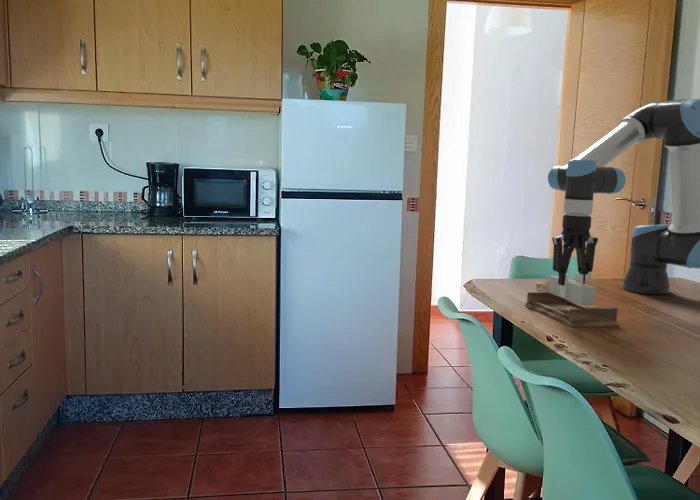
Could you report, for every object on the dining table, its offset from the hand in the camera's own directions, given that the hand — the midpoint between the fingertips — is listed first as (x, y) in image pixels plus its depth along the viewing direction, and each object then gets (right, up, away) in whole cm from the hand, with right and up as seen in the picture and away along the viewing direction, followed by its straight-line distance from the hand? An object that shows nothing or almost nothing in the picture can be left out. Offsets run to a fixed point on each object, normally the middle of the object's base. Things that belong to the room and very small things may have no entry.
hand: (570, 296), depth 176 cm
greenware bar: (0, -1, 0) cm, 1 cm away
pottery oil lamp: (+3, -3, +23) cm, 24 cm away
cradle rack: (0, -5, +1) cm, 6 cm away
